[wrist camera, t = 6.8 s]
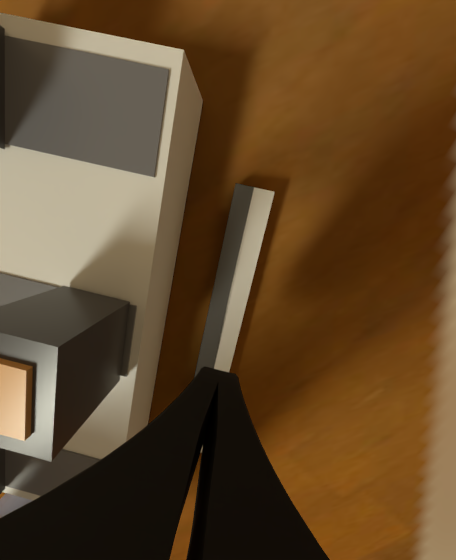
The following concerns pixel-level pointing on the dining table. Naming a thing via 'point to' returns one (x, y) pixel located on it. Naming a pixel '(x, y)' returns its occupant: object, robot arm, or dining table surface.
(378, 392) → the dining table surface
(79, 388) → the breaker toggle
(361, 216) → the dining table surface
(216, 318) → the long grey stick
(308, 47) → the dining table surface
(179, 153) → the white panel with blocks
